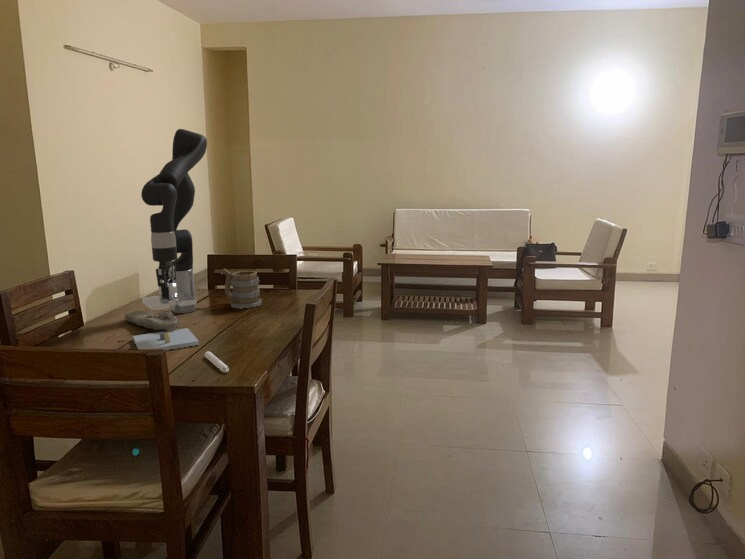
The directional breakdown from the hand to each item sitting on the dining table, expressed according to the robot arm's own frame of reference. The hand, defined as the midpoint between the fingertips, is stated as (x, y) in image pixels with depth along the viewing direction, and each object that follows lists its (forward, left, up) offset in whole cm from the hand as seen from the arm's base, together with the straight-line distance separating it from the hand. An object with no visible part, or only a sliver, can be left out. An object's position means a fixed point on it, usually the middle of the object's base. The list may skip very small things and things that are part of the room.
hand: (168, 296), depth 182 cm
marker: (+31, +7, -16) cm, 36 cm away
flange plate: (0, 0, -2) cm, 2 cm away
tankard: (-41, +35, -16) cm, 56 cm away
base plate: (0, -2, -16) cm, 16 cm away
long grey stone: (-24, -4, -15) cm, 29 cm away
